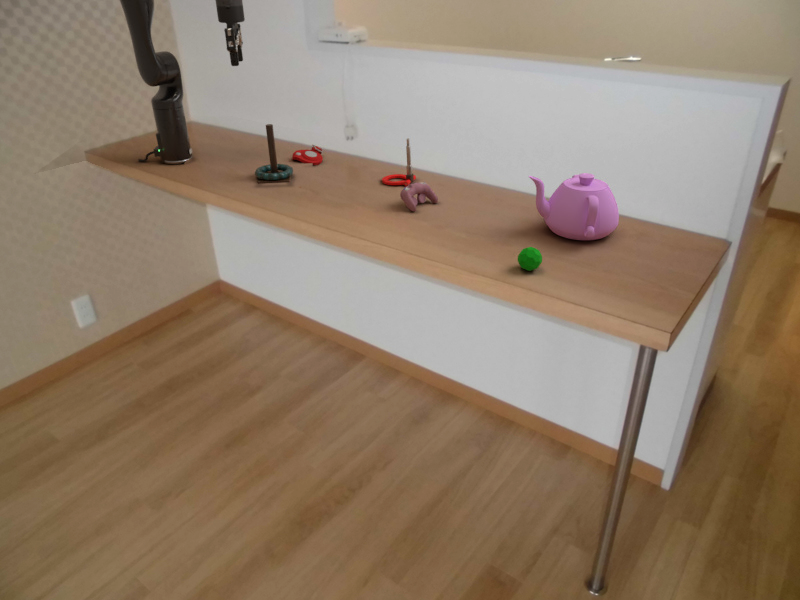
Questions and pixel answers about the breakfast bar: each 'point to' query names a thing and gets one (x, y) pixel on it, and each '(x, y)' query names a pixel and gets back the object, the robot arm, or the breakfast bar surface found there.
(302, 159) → the tracker holder
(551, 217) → the teapot
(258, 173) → the ring
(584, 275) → the breakfast bar surface
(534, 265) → the polyhedron
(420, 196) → the video game controller
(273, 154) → the brown peg stand
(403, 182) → the tow hook
